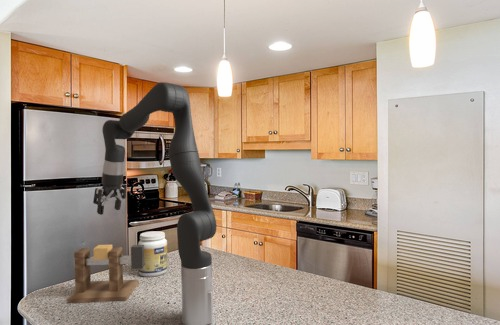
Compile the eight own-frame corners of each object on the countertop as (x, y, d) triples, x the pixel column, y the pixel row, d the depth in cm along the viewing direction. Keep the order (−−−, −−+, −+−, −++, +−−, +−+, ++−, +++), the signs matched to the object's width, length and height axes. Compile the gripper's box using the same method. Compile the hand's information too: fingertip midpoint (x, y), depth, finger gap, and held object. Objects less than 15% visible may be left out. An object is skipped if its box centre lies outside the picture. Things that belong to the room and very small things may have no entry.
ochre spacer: (112, 255, 126) (112, 244, 126) (107, 259, 121) (107, 248, 121) (98, 255, 126) (98, 244, 126) (93, 259, 121) (93, 248, 121)
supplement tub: (157, 279, 137) (156, 237, 136) (132, 276, 141) (131, 236, 140) (173, 269, 148) (172, 231, 148) (149, 266, 152) (148, 229, 152)
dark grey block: (144, 265, 126) (144, 244, 126) (142, 268, 123) (142, 246, 123) (77, 268, 124) (76, 246, 124) (73, 270, 121) (73, 249, 121)
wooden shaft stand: (138, 283, 132) (137, 243, 132) (126, 300, 116) (125, 255, 116) (86, 285, 131) (85, 244, 131) (67, 303, 115) (66, 257, 115)
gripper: (106, 176, 121) (101, 218, 124) (133, 172, 134) (129, 210, 137) (90, 171, 124) (86, 213, 126) (119, 168, 137) (115, 205, 139)
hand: (109, 211), depth 131 cm, fingers open, 8 cm apart
